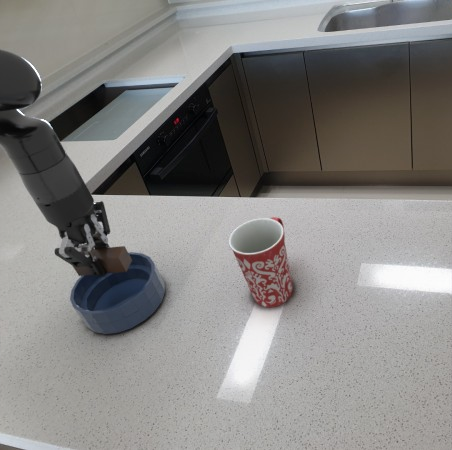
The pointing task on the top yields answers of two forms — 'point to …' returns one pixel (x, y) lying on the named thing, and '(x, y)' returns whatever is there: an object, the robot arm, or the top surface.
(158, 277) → the bowl
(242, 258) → the mug
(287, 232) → the top surface
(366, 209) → the top surface
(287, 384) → the top surface
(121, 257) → the bar
